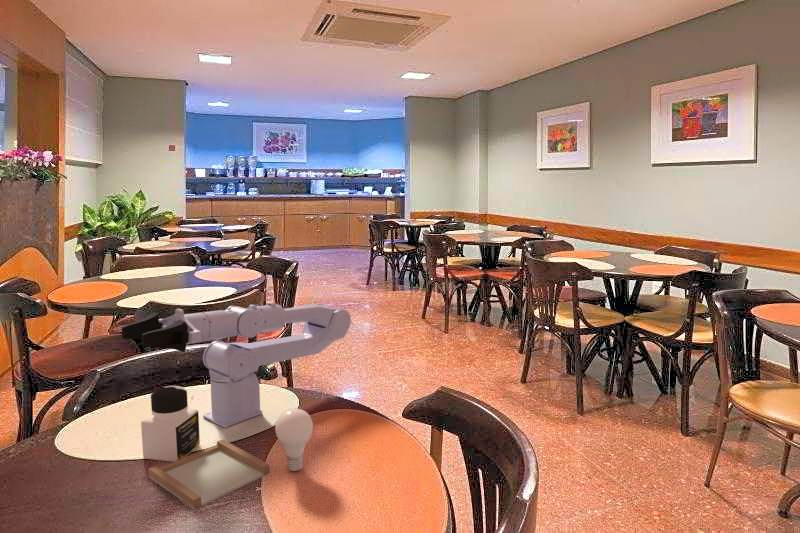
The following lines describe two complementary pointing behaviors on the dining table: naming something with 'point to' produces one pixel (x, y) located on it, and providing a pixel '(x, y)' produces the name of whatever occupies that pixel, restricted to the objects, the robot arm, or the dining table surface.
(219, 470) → the wooden serving tray
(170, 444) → the medicine bottle
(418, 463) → the dining table surface
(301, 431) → the lightbulb
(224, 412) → the robot arm
